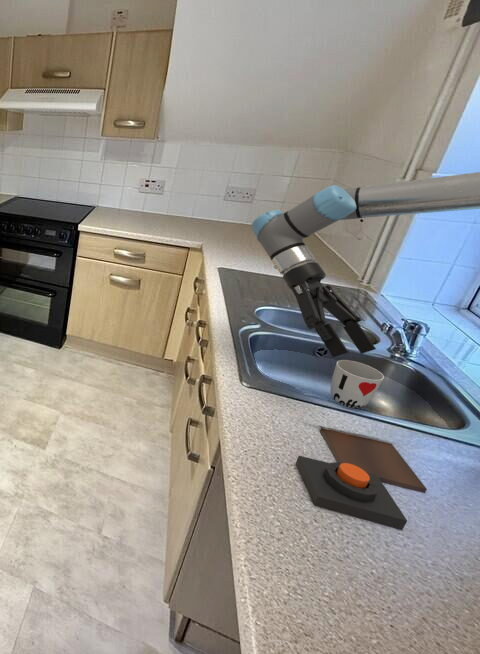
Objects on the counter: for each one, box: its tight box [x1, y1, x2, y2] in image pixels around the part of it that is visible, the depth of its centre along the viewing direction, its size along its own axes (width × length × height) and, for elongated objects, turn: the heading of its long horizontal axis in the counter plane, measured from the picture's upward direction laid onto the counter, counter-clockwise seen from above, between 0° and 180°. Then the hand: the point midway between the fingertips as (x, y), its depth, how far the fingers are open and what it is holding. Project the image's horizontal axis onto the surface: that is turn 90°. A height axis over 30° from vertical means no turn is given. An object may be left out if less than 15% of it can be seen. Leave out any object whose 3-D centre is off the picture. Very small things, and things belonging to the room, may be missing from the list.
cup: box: [329, 359, 385, 410], centre depth 96 cm, size 8×8×10 cm
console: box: [295, 455, 408, 531], centre depth 73 cm, size 12×10×4 cm
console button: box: [337, 463, 370, 489], centre depth 73 cm, size 4×4×2 cm
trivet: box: [319, 427, 428, 494], centre depth 82 cm, size 12×12×1 cm
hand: (355, 353), depth 89 cm, fingers open, 13 cm apart
